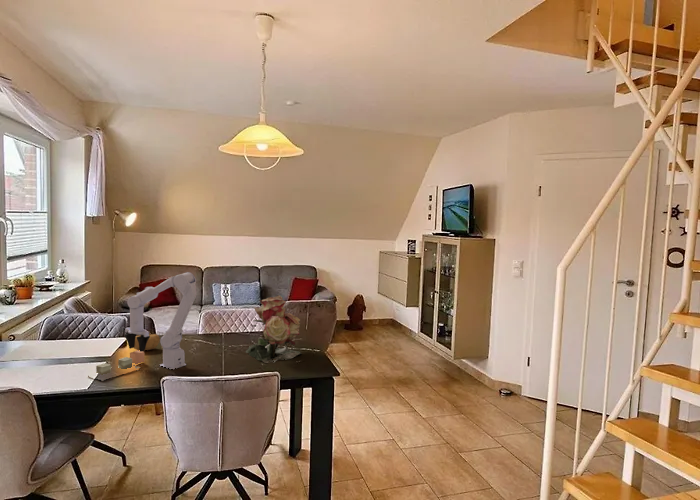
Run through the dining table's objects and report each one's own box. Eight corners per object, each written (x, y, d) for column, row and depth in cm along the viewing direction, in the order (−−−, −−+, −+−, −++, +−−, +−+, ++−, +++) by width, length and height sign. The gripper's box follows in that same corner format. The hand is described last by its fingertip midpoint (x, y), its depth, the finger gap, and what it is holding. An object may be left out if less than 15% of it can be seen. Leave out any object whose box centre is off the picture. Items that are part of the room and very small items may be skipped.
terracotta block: (144, 363, 210) (144, 352, 209) (135, 366, 206) (135, 354, 206) (138, 361, 212) (138, 350, 211) (129, 364, 208) (129, 352, 208)
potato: (130, 348, 231) (130, 333, 231) (160, 346, 236) (160, 331, 236) (128, 354, 222) (128, 338, 222) (159, 352, 227) (159, 336, 227)
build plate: (140, 369, 202) (140, 358, 201) (101, 381, 186) (101, 370, 185) (126, 365, 206) (126, 354, 206) (87, 377, 191) (87, 365, 190)
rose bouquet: (268, 366, 210) (269, 303, 208) (240, 351, 232) (240, 294, 230) (313, 356, 226) (314, 298, 224) (283, 343, 249) (283, 289, 246)
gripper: (119, 320, 207) (119, 348, 208) (139, 324, 200) (139, 354, 201) (132, 317, 213) (133, 345, 215) (152, 321, 206) (152, 350, 207)
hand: (136, 349), depth 208 cm, fingers open, 7 cm apart
